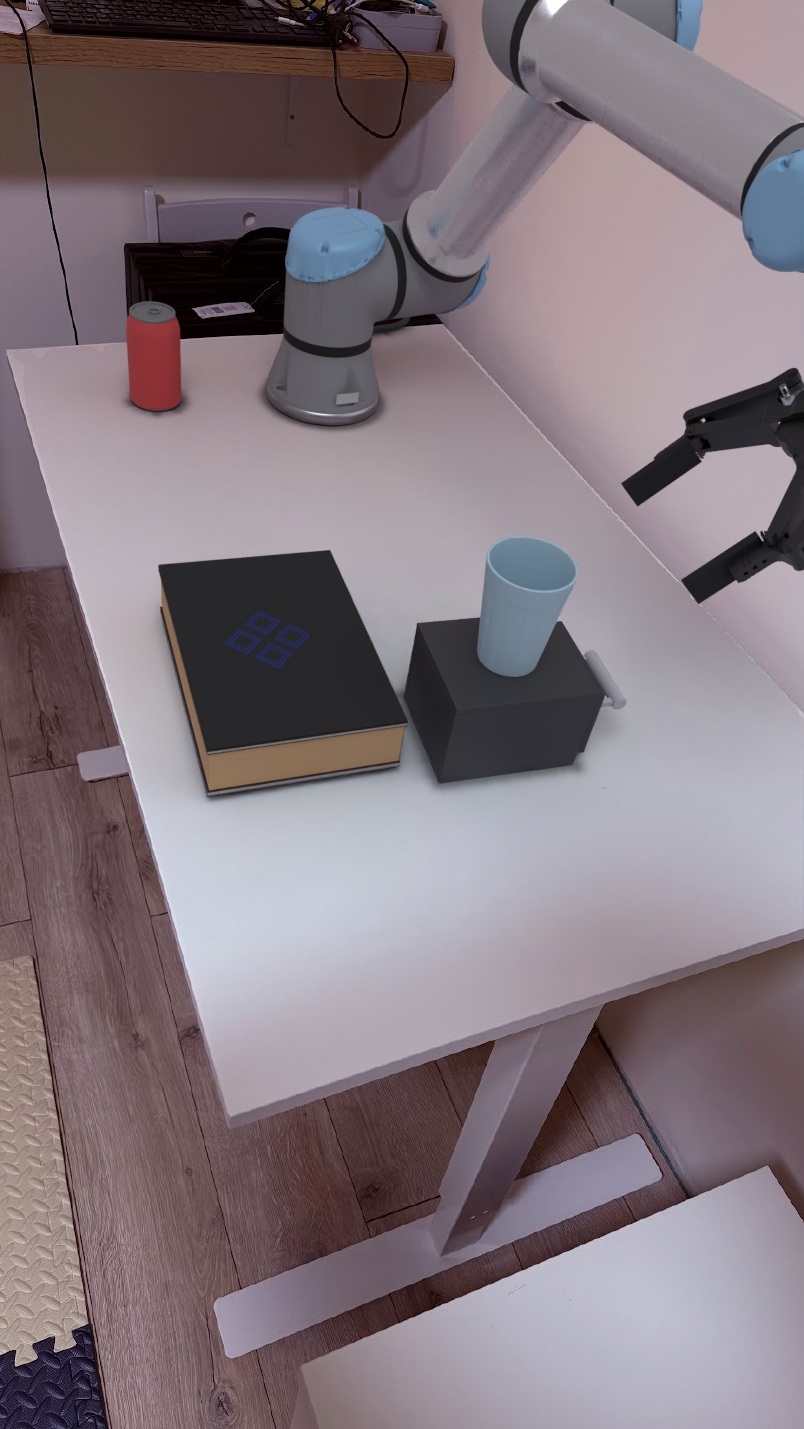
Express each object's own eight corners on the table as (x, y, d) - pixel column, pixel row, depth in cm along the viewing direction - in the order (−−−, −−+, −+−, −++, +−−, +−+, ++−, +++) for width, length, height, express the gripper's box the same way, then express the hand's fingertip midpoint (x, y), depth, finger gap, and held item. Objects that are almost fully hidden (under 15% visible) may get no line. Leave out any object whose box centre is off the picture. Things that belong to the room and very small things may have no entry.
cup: (565, 677, 90) (596, 583, 82) (489, 694, 87) (514, 598, 79) (524, 623, 94) (550, 530, 87) (451, 637, 91) (471, 542, 84)
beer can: (190, 397, 134) (189, 308, 126) (166, 418, 130) (163, 327, 121) (146, 383, 135) (141, 294, 127) (120, 404, 131) (114, 313, 122)
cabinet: (528, 682, 103) (550, 610, 96) (572, 765, 95) (599, 693, 89) (403, 696, 99) (416, 622, 92) (439, 783, 91) (456, 709, 85)
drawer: (578, 675, 103) (598, 617, 98) (620, 747, 97) (644, 689, 91) (427, 692, 98) (440, 631, 93) (461, 769, 92) (476, 708, 86)
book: (325, 600, 108) (330, 549, 103) (398, 772, 92) (408, 720, 87) (160, 617, 102) (157, 564, 98) (207, 803, 86) (207, 749, 82)
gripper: (1005, 500, 72) (737, 664, 78) (833, 338, 88) (625, 485, 95) (982, 431, 67) (699, 613, 74) (805, 273, 83) (588, 433, 90)
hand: (657, 541), depth 84 cm, fingers open, 13 cm apart
